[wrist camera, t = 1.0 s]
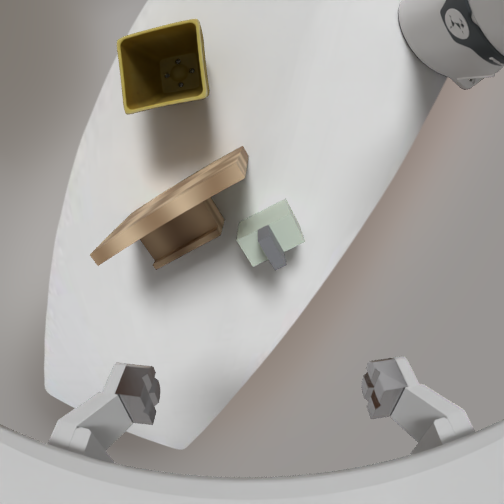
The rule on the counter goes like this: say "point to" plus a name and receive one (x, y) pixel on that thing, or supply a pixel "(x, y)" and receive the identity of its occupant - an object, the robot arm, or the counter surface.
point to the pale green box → (270, 235)
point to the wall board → (178, 214)
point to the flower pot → (162, 66)
